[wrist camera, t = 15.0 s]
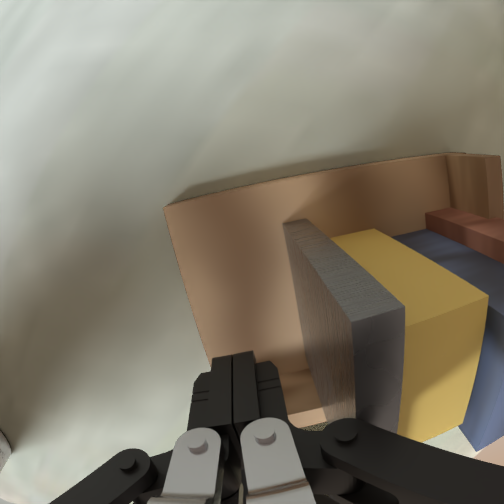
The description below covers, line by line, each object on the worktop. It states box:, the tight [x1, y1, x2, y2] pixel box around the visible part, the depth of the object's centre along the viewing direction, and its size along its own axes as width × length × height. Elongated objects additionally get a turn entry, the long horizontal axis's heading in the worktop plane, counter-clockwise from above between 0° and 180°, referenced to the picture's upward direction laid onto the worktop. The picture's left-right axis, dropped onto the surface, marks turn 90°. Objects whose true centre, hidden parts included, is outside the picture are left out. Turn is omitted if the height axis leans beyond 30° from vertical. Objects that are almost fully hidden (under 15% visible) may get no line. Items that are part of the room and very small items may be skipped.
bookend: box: [282, 218, 405, 434], centre depth 12 cm, size 1×8×10 cm, turn 12°
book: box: [330, 229, 489, 442], centre depth 12 cm, size 4×6×9 cm, turn 12°
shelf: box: [163, 152, 504, 452], centre depth 13 cm, size 17×12×12 cm
